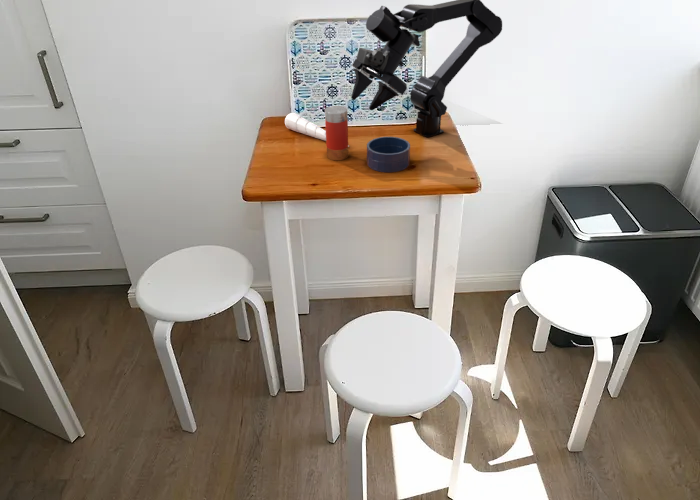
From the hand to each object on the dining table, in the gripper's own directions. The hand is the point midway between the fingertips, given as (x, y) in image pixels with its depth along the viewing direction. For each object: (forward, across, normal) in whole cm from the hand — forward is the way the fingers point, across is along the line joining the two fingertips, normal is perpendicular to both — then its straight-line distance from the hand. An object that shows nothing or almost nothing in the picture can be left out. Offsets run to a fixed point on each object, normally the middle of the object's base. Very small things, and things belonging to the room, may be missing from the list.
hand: (361, 104), depth 152 cm
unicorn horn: (+14, -15, +4) cm, 21 cm away
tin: (+15, 0, +3) cm, 15 cm away
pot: (+9, +11, +10) cm, 17 cm away
